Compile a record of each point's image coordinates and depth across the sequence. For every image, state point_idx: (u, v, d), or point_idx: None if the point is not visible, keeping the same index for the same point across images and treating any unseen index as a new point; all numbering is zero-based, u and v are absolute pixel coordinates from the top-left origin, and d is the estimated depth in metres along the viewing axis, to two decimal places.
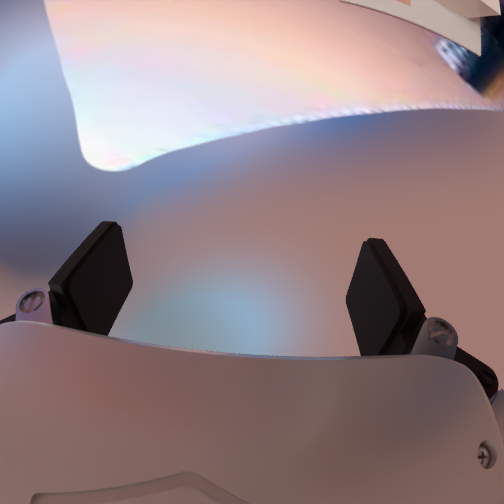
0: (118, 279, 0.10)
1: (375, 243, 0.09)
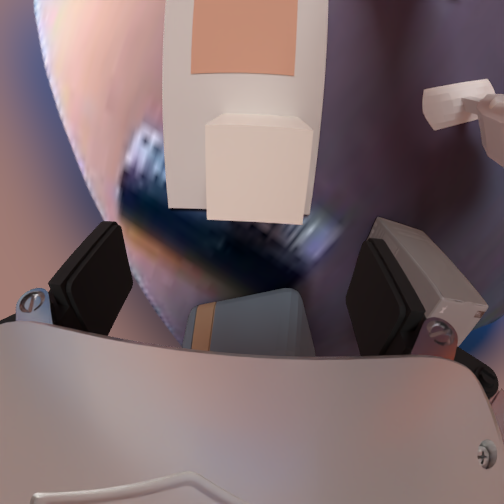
0: (118, 279, 0.10)
1: (375, 243, 0.09)
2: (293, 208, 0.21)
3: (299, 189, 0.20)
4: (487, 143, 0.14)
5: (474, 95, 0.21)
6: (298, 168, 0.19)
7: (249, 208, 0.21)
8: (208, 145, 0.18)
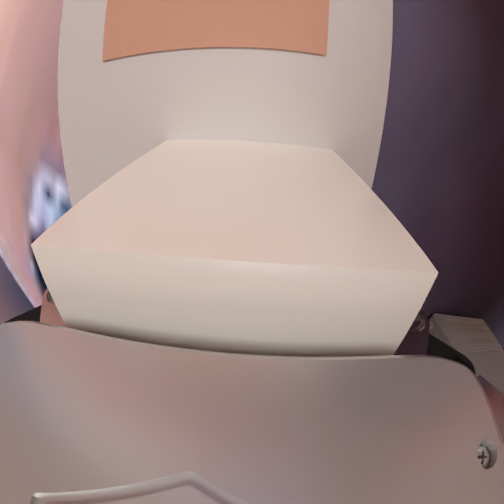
0: None
1: None
2: None
3: None
4: None
5: None
6: None
7: None
8: (62, 305, 0.05)
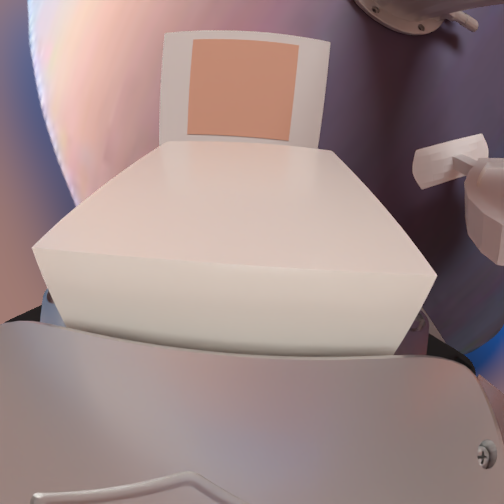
0: None
1: None
2: None
3: None
4: (468, 223, 0.18)
5: (466, 152, 0.25)
6: None
7: None
8: (63, 307, 0.05)
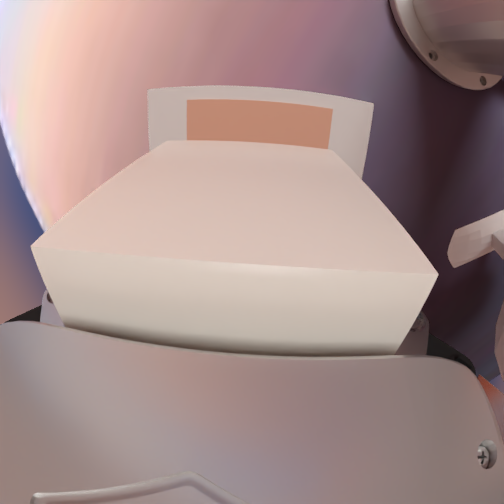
0: None
1: None
2: None
3: None
4: (498, 346, 0.14)
5: None
6: None
7: None
8: (61, 307, 0.05)
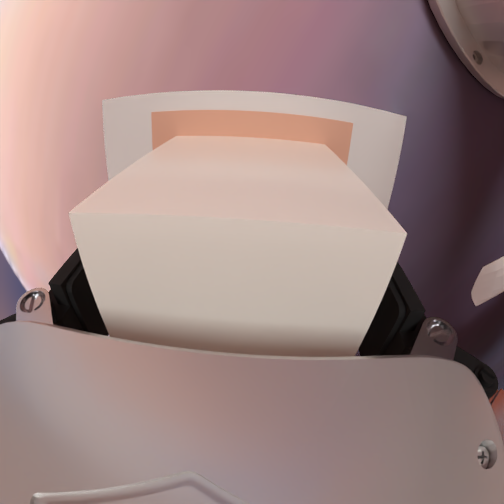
0: None
1: None
2: None
3: None
4: None
5: None
6: (341, 328, 0.07)
7: None
8: (90, 268, 0.06)
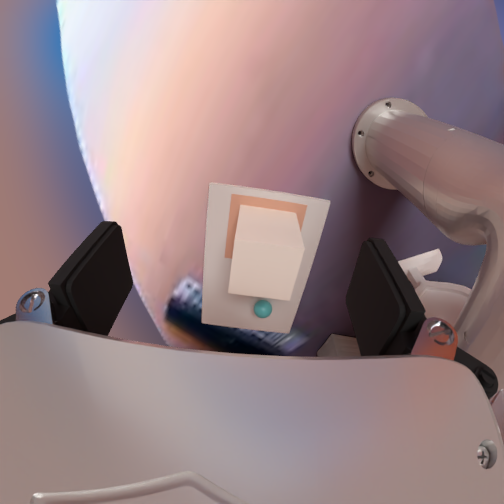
0: (118, 279, 0.10)
1: (375, 243, 0.09)
2: (285, 291, 0.33)
3: (290, 281, 0.32)
4: None
5: (420, 265, 0.41)
6: (291, 270, 0.31)
7: (256, 289, 0.33)
8: (235, 251, 0.30)
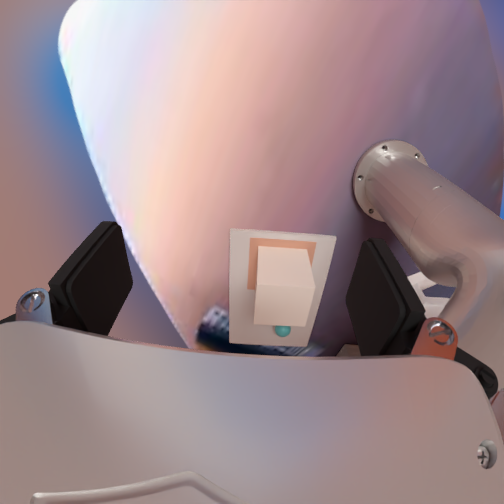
0: (118, 279, 0.10)
1: (375, 243, 0.09)
2: (301, 320, 0.38)
3: (305, 312, 0.37)
4: None
5: (420, 281, 0.45)
6: (305, 303, 0.36)
7: (277, 320, 0.38)
8: (258, 293, 0.36)
